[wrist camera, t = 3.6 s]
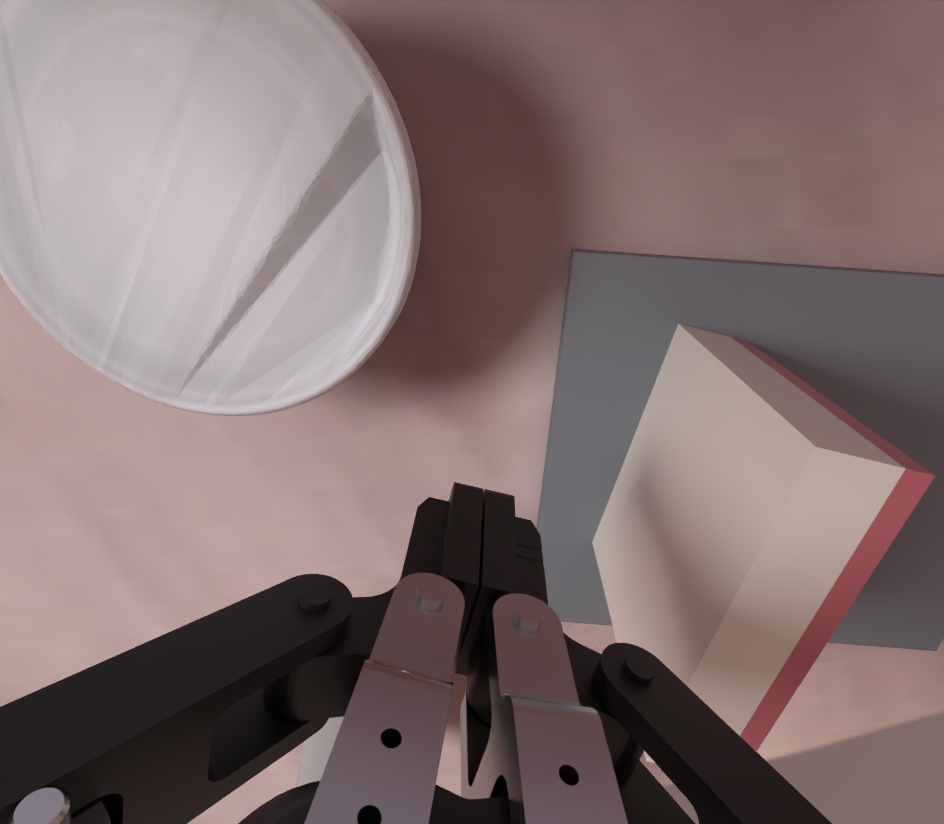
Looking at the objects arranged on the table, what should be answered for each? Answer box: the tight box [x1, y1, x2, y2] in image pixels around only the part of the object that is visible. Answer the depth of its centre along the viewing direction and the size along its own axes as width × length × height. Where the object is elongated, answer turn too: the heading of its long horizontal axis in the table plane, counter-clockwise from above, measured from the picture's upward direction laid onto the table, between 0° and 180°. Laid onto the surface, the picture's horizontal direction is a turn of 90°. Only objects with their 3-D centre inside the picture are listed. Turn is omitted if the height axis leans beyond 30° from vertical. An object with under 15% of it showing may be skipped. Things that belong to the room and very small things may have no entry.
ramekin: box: [0, 0, 421, 416], centre depth 16 cm, size 11×11×5 cm
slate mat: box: [537, 249, 944, 651], centre depth 21 cm, size 15×17×1 cm
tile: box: [592, 324, 935, 763], centre depth 17 cm, size 2×9×9 cm, turn 167°
